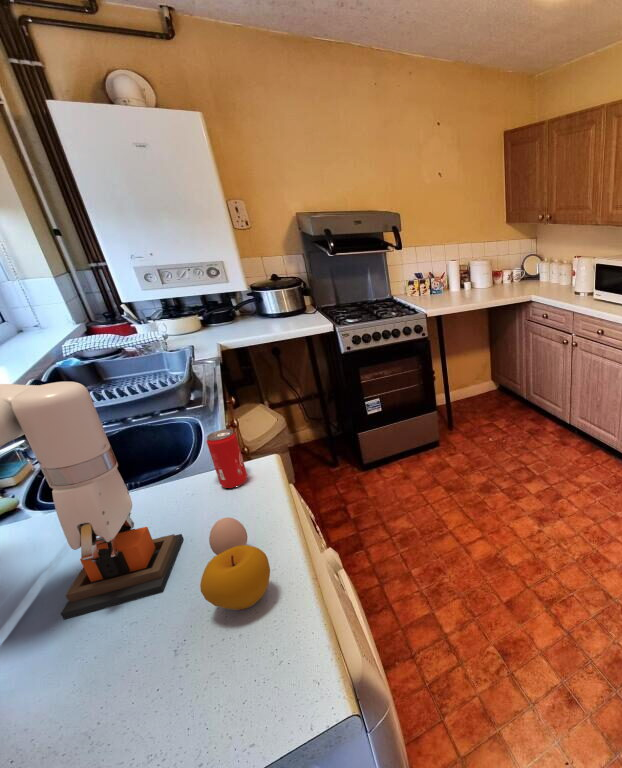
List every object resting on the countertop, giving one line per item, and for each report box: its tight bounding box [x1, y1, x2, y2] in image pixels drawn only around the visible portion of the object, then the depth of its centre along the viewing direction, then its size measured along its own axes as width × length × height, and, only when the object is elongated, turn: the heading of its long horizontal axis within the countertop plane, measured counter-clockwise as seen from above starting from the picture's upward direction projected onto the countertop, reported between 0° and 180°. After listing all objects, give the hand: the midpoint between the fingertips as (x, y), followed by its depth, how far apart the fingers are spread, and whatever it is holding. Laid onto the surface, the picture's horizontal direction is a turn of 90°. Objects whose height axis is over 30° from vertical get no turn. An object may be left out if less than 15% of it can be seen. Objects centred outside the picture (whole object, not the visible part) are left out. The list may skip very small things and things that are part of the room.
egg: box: [208, 517, 248, 556], centre depth 73 cm, size 5×5×7 cm
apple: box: [200, 544, 271, 611], centre depth 64 cm, size 8×8×9 cm
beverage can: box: [206, 428, 248, 489], centre depth 93 cm, size 5×5×12 cm
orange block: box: [79, 526, 156, 582], centre depth 69 cm, size 7×5×4 cm
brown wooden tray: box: [60, 533, 184, 620], centre depth 71 cm, size 12×13×3 cm
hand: (123, 562), depth 70 cm, fingers closed on orange block, 4 cm apart
